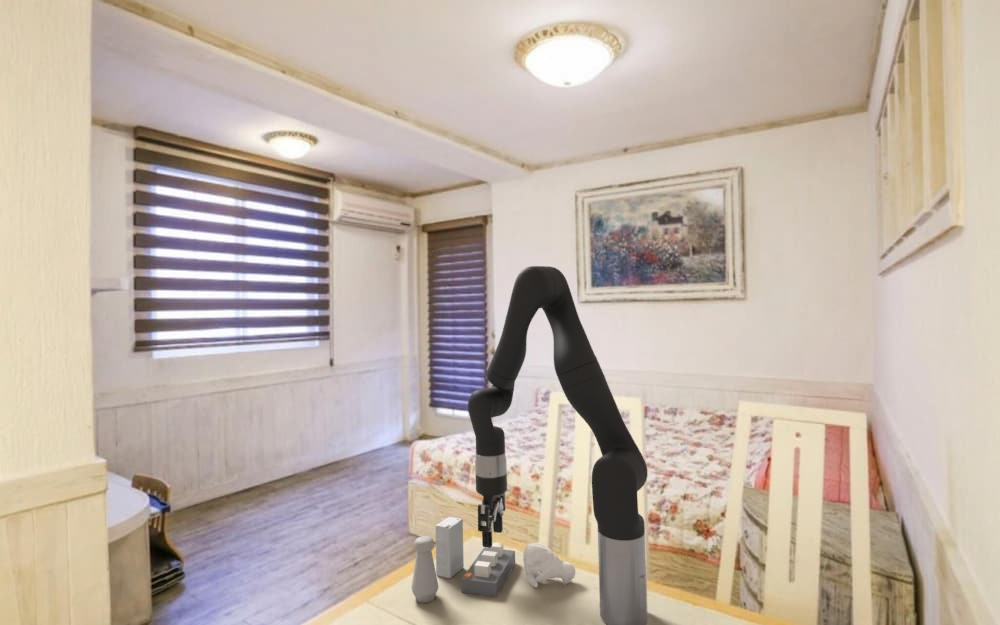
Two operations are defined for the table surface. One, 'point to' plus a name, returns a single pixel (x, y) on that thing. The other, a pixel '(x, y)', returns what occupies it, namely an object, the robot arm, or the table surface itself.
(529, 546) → the whiskered white figurine
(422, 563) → the salt shaker
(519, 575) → the table surface
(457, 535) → the skincare box
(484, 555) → the block
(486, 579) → the panel
